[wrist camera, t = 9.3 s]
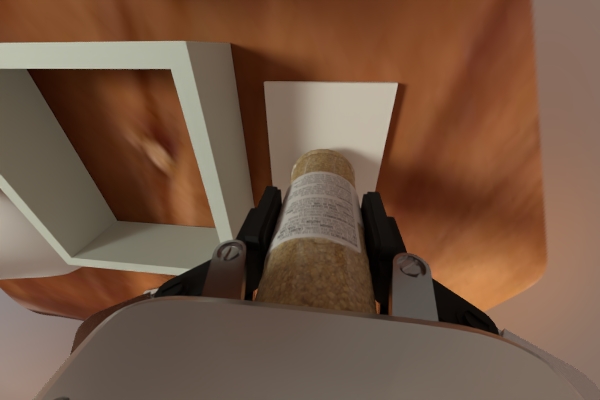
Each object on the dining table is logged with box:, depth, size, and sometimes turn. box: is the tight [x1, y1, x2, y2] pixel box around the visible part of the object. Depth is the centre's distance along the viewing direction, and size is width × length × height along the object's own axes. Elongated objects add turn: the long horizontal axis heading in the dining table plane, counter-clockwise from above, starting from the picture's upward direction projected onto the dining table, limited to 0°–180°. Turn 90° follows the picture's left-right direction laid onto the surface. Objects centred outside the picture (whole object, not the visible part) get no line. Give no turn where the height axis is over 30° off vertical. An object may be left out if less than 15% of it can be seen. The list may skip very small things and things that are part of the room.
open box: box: [0, 41, 255, 275], centre depth 17 cm, size 16×16×5 cm
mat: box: [264, 81, 398, 208], centre depth 17 cm, size 12×8×1 cm, turn 0°
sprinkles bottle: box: [254, 149, 377, 314], centre depth 10 cm, size 5×5×14 cm
